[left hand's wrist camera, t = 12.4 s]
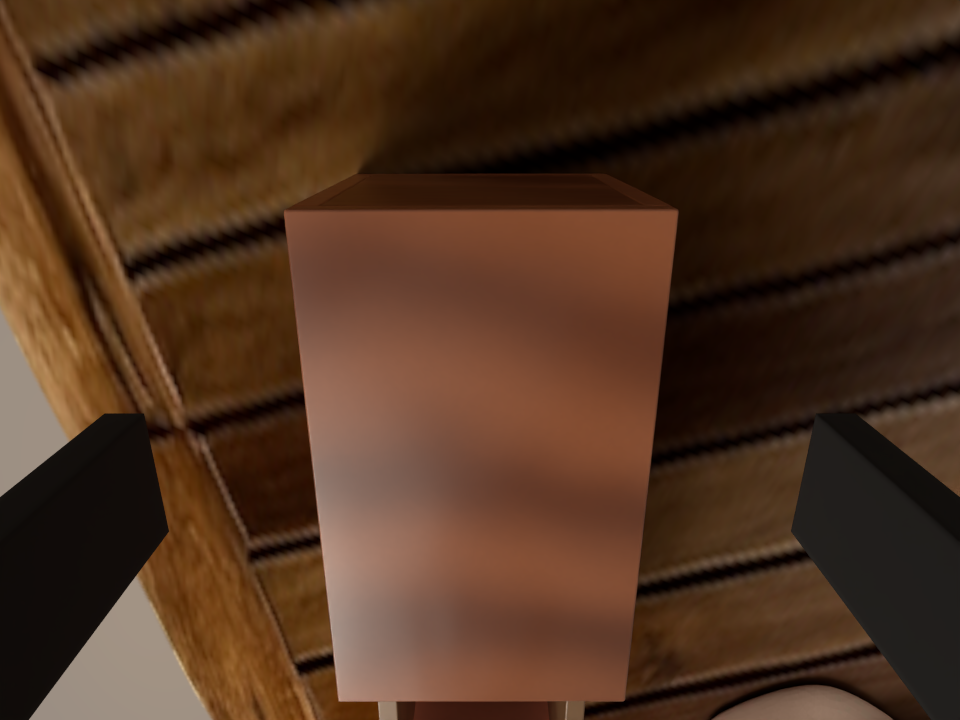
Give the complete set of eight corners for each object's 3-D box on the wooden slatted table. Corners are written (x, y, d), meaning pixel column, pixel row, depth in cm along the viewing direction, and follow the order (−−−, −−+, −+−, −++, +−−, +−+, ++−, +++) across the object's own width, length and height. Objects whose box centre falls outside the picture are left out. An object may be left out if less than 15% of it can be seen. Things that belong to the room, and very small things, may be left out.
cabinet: (582, 527, 35) (625, 702, 25) (380, 527, 35) (337, 702, 25) (606, 173, 28) (680, 209, 18) (355, 173, 28) (282, 209, 18)
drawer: (560, 745, 40) (582, 922, 31) (402, 745, 40) (380, 922, 31) (581, 412, 32) (620, 527, 23) (380, 412, 32) (342, 527, 23)
